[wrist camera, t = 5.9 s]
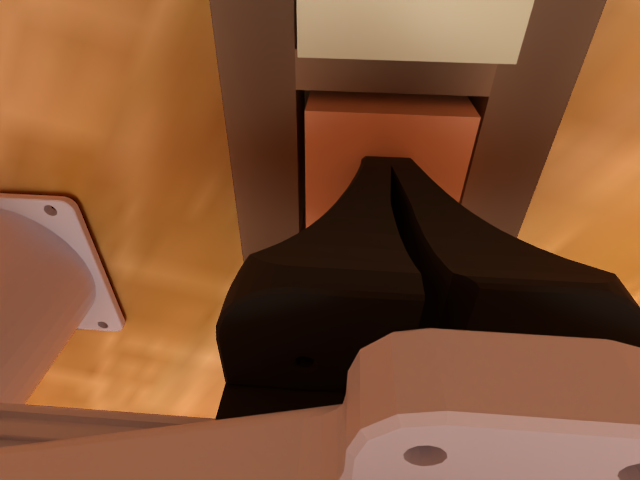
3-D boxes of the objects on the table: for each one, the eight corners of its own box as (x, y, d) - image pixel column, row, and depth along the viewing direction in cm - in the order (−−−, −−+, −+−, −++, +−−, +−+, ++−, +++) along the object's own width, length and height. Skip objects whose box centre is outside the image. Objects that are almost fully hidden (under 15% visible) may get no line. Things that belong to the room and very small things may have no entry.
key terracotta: (312, 205, 15) (305, 246, 13) (312, 82, 12) (304, 110, 11) (434, 211, 15) (445, 254, 13) (461, 87, 12) (480, 117, 10)
